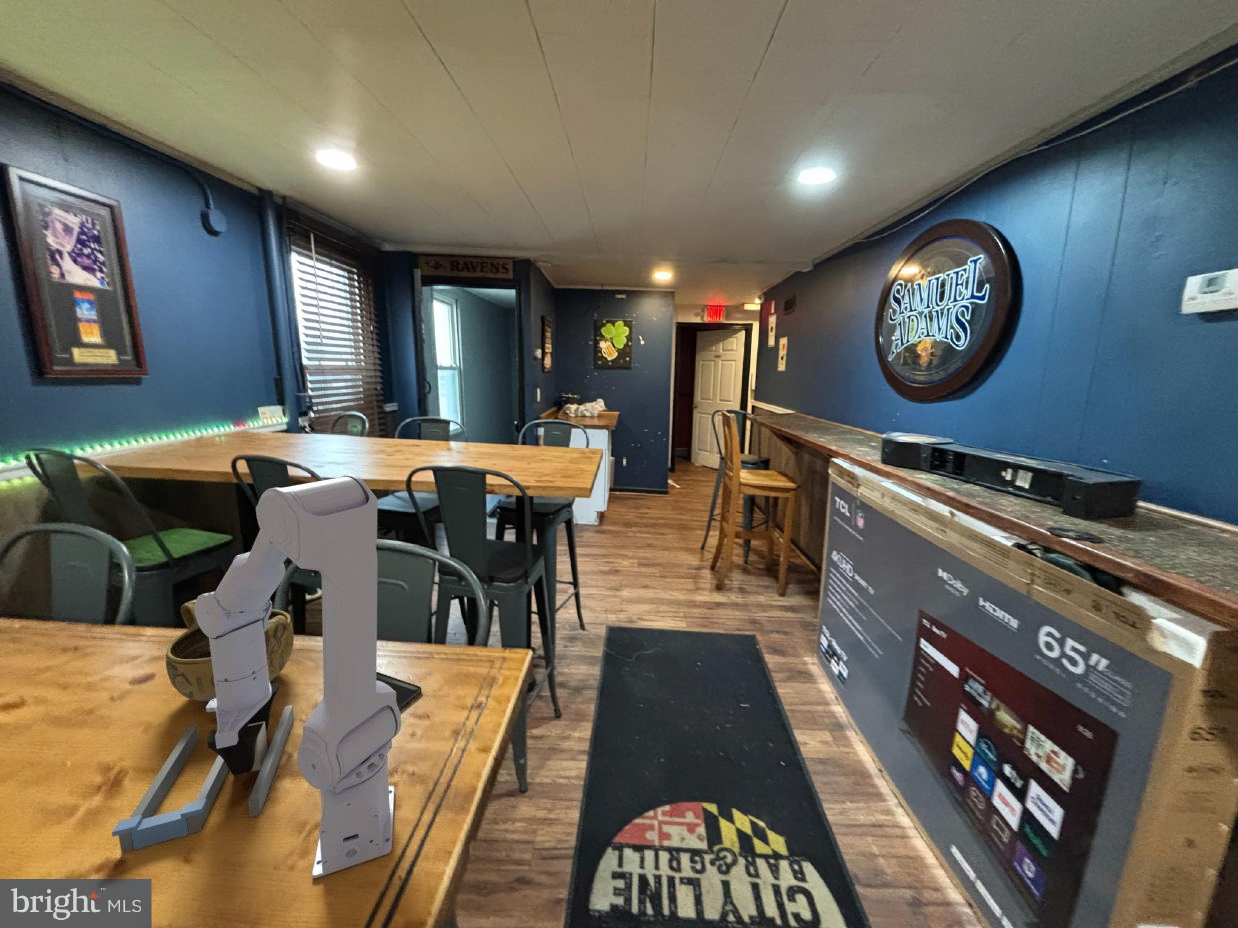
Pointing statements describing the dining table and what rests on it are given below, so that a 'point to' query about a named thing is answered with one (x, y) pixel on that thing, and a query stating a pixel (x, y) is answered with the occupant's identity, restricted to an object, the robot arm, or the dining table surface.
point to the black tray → (400, 689)
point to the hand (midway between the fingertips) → (250, 753)
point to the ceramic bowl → (193, 654)
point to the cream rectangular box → (260, 748)
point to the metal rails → (190, 819)
